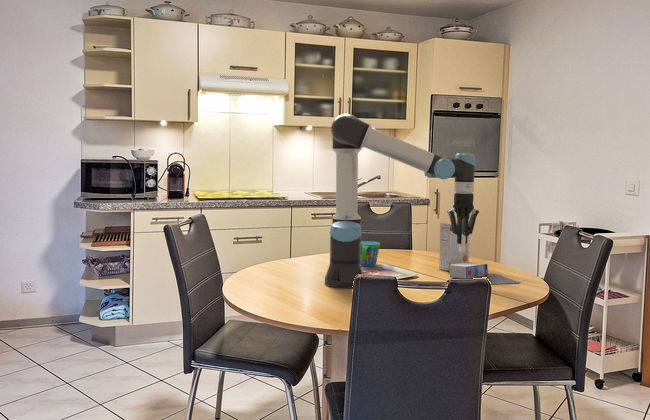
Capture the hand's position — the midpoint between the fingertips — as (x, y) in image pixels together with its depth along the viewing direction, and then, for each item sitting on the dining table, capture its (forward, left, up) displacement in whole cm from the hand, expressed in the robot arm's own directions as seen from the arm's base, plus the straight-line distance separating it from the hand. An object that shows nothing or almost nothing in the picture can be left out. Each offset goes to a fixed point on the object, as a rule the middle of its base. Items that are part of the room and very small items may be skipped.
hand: (461, 251), depth 236 cm
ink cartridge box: (-1, +1, -9) cm, 9 cm away
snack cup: (-27, +36, -12) cm, 46 cm away
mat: (+11, 0, -12) cm, 16 cm away
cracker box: (+8, +22, -12) cm, 26 cm away
